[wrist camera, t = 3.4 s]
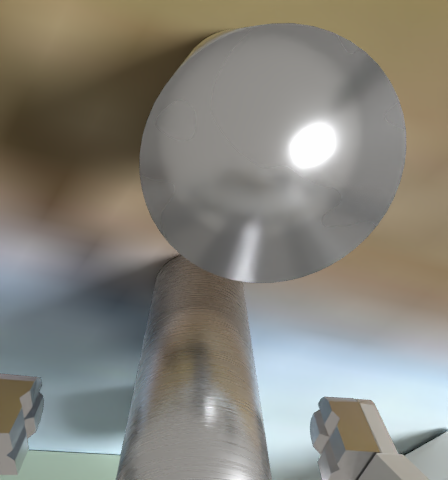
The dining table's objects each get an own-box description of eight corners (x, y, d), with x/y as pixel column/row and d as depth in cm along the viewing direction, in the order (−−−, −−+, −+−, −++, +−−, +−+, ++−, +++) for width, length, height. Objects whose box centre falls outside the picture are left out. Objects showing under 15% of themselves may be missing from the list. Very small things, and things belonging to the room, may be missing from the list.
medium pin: (309, 43, 10) (456, 58, 4) (277, 163, 12) (349, 295, 6) (184, 16, 10) (151, -10, 4) (170, 144, 12) (131, 268, 6)
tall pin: (251, 258, 14) (326, 628, 5) (233, 326, 16) (267, 685, 7) (159, 246, 13) (75, 630, 5) (151, 317, 15) (80, 690, 7)
